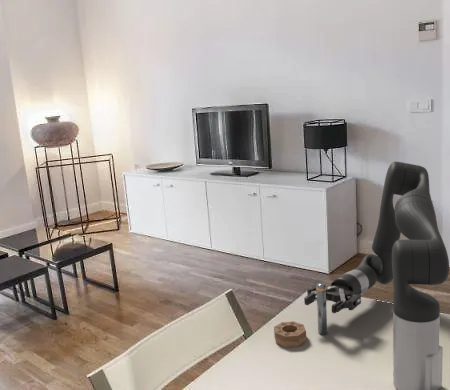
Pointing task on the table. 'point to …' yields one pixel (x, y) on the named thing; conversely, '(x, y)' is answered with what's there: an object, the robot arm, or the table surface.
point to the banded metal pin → (321, 308)
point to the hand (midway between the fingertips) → (319, 305)
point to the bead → (290, 334)
